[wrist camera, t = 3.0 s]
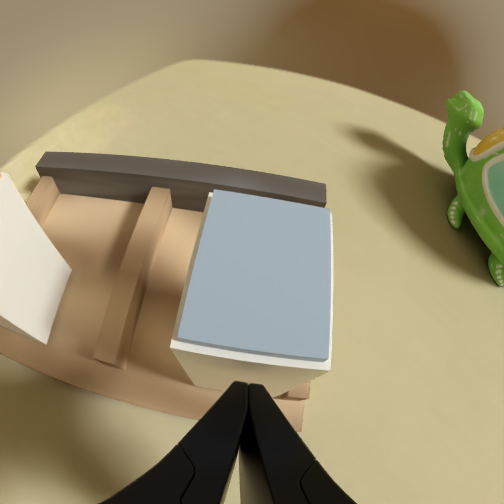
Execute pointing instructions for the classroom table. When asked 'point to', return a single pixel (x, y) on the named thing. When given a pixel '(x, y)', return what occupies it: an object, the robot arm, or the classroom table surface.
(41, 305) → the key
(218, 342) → the blue-topped cream block
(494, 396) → the classroom table surface
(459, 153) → the turtle holder
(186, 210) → the wooden divided tray
